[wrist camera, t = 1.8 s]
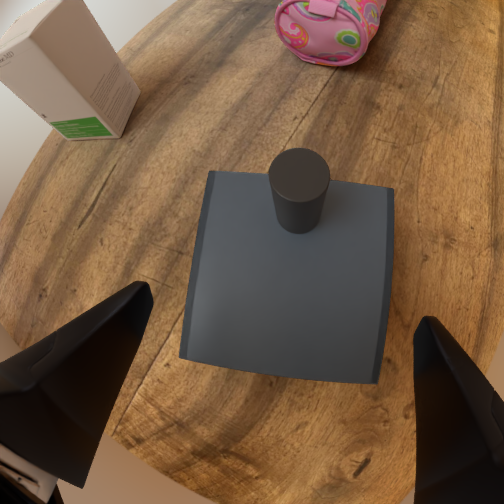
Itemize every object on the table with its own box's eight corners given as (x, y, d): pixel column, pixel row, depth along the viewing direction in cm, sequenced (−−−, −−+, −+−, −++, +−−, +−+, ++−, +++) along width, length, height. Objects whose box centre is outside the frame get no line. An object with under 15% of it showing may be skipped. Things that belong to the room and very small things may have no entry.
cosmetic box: (68, 142, 27) (-23, 68, 12) (90, 95, 28) (17, 15, 13) (123, 139, 26) (25, 36, 10) (146, 88, 27) (75, -17, 11)
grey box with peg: (410, 413, 8) (425, 146, 10) (134, 374, 10) (180, 124, 11) (351, 361, 19) (365, 224, 21) (213, 343, 21) (233, 210, 23)
